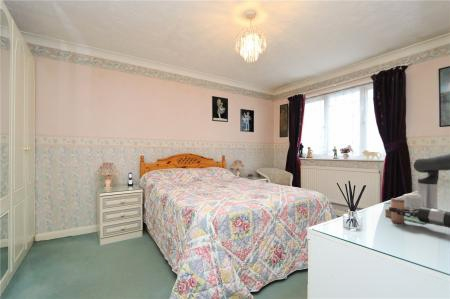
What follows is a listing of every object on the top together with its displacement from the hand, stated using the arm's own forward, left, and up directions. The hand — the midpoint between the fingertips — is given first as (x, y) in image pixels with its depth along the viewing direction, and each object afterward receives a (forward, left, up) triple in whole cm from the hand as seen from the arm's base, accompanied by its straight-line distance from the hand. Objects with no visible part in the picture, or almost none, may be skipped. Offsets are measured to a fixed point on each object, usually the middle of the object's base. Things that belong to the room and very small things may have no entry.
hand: (392, 208), depth 119 cm
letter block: (-8, -4, -7) cm, 11 cm away
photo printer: (-24, 0, -7) cm, 25 cm away
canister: (0, +3, -7) cm, 7 cm away
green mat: (-12, +6, -7) cm, 15 cm away
